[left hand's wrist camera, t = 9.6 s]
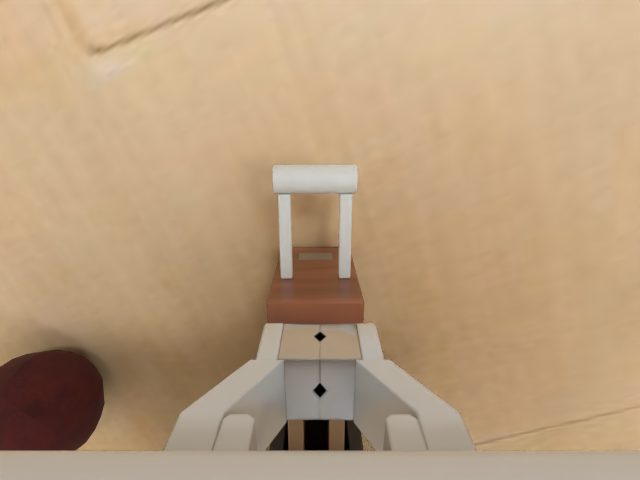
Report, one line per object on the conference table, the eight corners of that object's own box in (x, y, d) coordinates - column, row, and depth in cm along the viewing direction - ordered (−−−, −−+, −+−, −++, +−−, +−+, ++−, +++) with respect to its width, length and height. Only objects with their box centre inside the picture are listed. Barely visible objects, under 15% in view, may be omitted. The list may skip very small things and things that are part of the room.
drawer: (278, 156, 23) (260, 172, 15) (351, 155, 23) (369, 172, 15) (288, 450, 30) (279, 564, 22) (344, 449, 30) (354, 562, 22)
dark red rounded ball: (0, 374, 28) (-97, 460, 21) (54, 308, 26) (-34, 379, 19) (87, 427, 30) (22, 520, 23) (144, 368, 28) (91, 452, 21)
